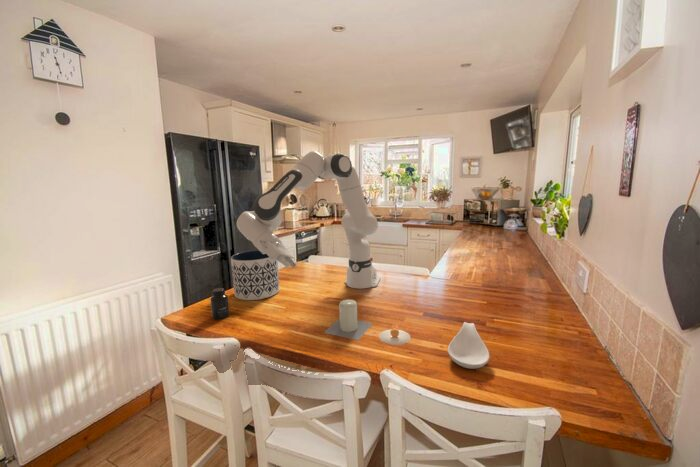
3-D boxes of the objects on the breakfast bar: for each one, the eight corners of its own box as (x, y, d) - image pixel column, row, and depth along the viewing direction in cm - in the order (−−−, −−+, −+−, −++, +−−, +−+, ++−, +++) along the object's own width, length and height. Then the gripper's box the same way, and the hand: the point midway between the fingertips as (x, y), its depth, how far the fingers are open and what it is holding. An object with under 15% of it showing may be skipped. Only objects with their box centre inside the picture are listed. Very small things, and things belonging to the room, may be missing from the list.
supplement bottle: (223, 320, 126) (220, 293, 124) (208, 319, 128) (205, 292, 126) (232, 313, 133) (230, 287, 131) (218, 312, 134) (215, 286, 132)
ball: (391, 333, 110) (391, 326, 109) (400, 335, 108) (400, 327, 108) (389, 337, 107) (389, 329, 106) (397, 339, 106) (397, 331, 105)
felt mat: (340, 318, 125) (340, 317, 125) (372, 324, 119) (372, 322, 119) (323, 334, 112) (323, 332, 112) (358, 341, 106) (358, 340, 106)
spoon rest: (490, 378, 85) (491, 355, 84) (446, 370, 89) (446, 348, 88) (485, 337, 107) (486, 318, 106) (449, 332, 111) (450, 314, 110)
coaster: (385, 328, 115) (385, 327, 115) (413, 333, 110) (413, 332, 110) (374, 342, 105) (374, 341, 105) (405, 349, 101) (405, 347, 100)
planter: (262, 303, 143) (258, 261, 140) (224, 298, 151) (220, 258, 148) (287, 287, 164) (285, 250, 161) (253, 284, 172) (250, 248, 168)
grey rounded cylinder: (345, 322, 119) (344, 298, 118) (359, 325, 117) (358, 300, 115) (337, 329, 114) (336, 304, 112) (352, 332, 111) (352, 307, 110)
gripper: (263, 233, 112) (290, 258, 110) (281, 240, 133) (303, 262, 130) (252, 246, 112) (278, 271, 110) (271, 251, 132) (293, 273, 130)
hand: (292, 266), depth 120 cm, fingers open, 8 cm apart
